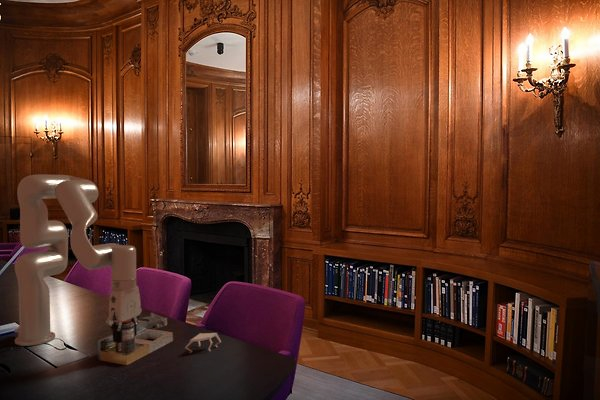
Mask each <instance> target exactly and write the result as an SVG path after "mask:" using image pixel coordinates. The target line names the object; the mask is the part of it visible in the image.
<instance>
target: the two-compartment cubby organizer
mask: <svg viewBox="0 0 600 400" xmlns="http://www.w3.org/2000/svg"><path fill="white" fill-rule="evenodd" d="M136 332H137V335H136V336H135V349H134V351H132V352H130V353H125V354H123V353H117V352H116V351H115V342H113V333H112V334H110V335H108V336H105V337H103V338H101V339H98V340H97V360H99V361H101V362H106V363H107V362H108V363H113V364H119V365H124V366H128V365H130V364H132V363H133V362H135V361H137V360H139V359H141V358H143V357H145V356H147V355H148V354H150V353H153V352H154V351H156V350H158V349H160V348H162V347H164V346H165V345H167V344H170V343H171V342H173V341H174V333H173V332H171V331H164V330H159V329H157V330H156V329H153V328H150V329H147V321H143V322H141V323H138V324H136ZM148 339H150V340H148ZM151 339H153V340H151Z"/></svg>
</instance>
